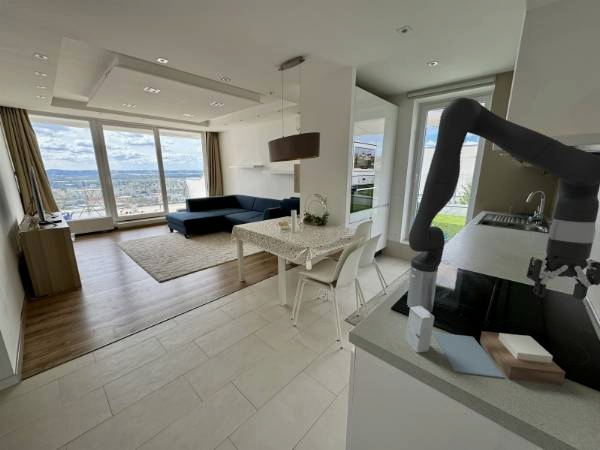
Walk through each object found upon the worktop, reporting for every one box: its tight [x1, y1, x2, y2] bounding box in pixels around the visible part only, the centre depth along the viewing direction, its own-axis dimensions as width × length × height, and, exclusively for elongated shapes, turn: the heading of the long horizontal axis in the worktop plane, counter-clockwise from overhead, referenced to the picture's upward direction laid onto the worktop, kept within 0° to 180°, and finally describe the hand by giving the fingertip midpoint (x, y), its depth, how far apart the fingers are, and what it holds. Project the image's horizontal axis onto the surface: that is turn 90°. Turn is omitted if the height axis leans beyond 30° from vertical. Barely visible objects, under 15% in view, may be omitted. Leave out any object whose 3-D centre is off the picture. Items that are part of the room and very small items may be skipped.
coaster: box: [498, 332, 554, 363], centre depth 67 cm, size 8×8×2 cm
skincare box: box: [405, 306, 435, 353], centre depth 74 cm, size 6×4×12 cm
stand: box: [479, 331, 566, 387], centre depth 68 cm, size 14×12×4 cm
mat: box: [433, 332, 505, 379], centre depth 72 cm, size 16×12×1 cm
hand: (558, 297), depth 63 cm, fingers open, 8 cm apart
